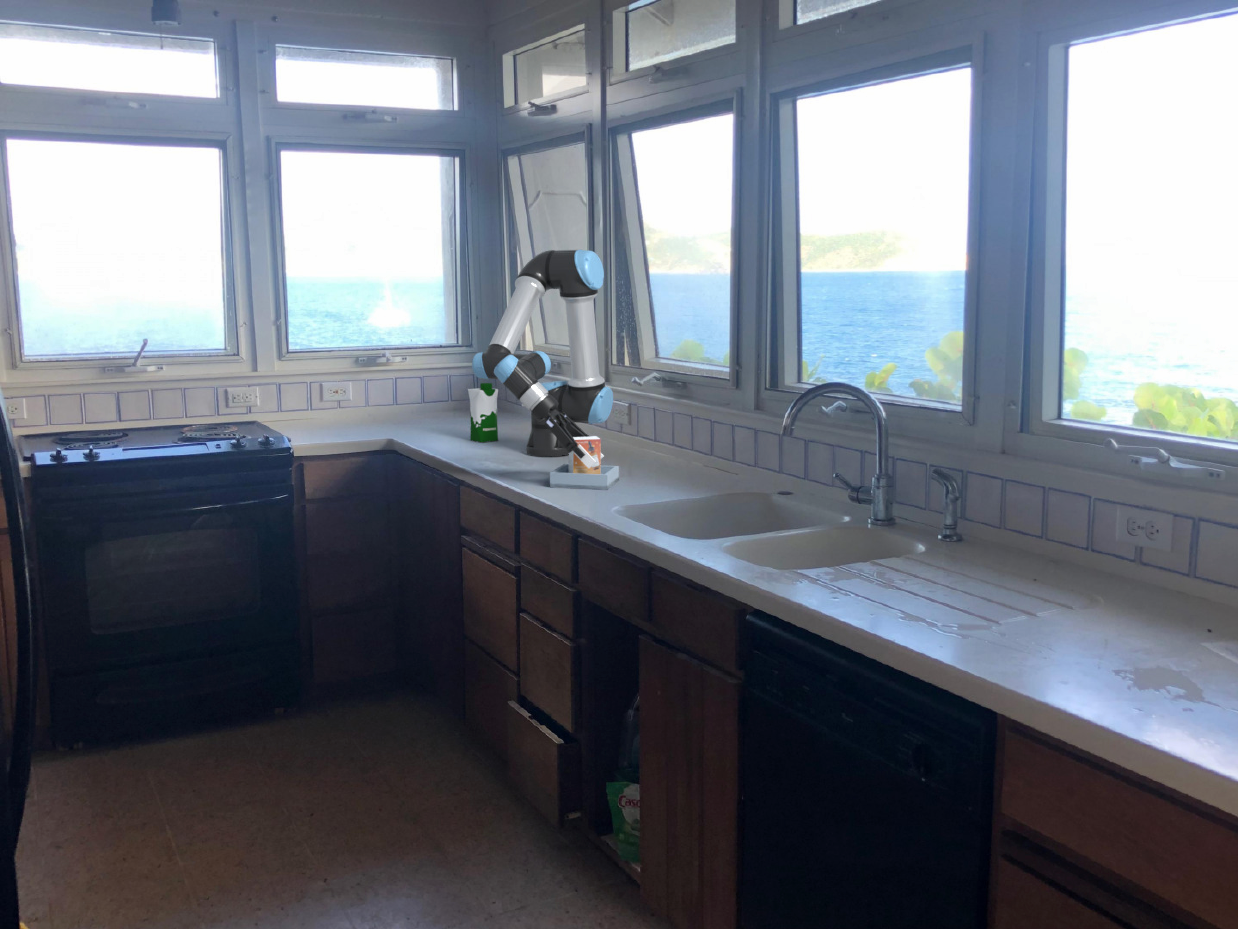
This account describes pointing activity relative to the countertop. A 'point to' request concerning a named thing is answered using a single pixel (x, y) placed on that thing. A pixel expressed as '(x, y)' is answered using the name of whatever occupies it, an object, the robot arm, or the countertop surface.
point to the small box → (594, 450)
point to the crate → (584, 478)
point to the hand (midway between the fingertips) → (596, 462)
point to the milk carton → (483, 413)
